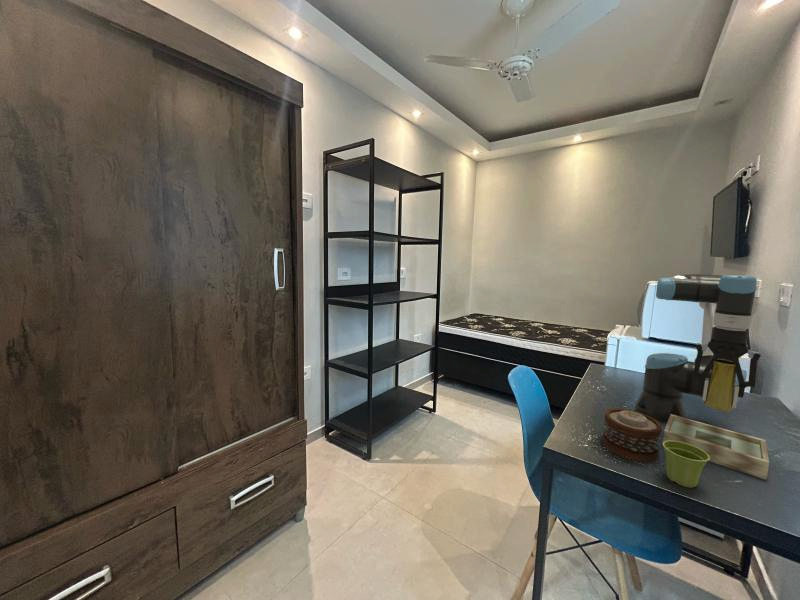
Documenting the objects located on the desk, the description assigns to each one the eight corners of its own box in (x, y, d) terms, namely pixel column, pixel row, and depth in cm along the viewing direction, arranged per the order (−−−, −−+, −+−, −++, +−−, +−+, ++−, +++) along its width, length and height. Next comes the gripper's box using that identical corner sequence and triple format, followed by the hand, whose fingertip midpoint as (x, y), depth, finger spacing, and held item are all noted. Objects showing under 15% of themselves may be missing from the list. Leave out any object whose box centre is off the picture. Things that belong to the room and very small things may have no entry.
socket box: (662, 445, 103) (664, 430, 102) (669, 427, 114) (670, 414, 113) (766, 480, 87) (769, 462, 87) (762, 455, 98) (765, 440, 98)
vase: (712, 401, 102) (718, 357, 101) (737, 410, 97) (744, 363, 95) (699, 404, 101) (705, 359, 99) (724, 413, 95) (731, 365, 93)
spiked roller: (664, 413, 101) (663, 433, 90) (660, 446, 102) (658, 469, 91) (608, 399, 110) (601, 415, 99) (605, 429, 112) (597, 448, 100)
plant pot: (652, 465, 92) (656, 437, 91) (692, 472, 90) (697, 443, 89) (668, 488, 84) (673, 456, 82) (713, 496, 81) (719, 464, 80)
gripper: (686, 324, 99) (676, 396, 103) (780, 336, 86) (765, 418, 89) (688, 321, 105) (679, 390, 108) (777, 331, 91) (763, 409, 95)
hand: (718, 402), depth 99 cm, fingers closed on vase, 6 cm apart
